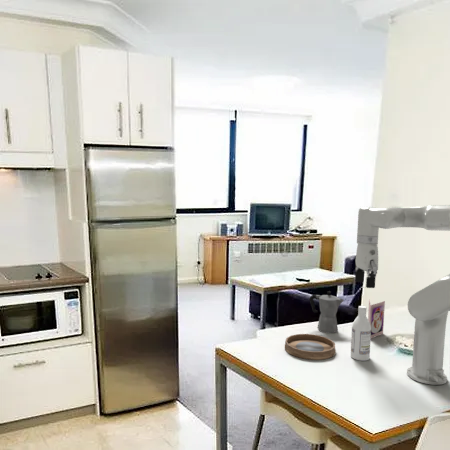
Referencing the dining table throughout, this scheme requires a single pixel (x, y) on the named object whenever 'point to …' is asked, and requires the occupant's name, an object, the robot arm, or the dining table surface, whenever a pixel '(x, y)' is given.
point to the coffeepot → (327, 312)
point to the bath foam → (361, 336)
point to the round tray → (310, 346)
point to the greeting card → (376, 318)
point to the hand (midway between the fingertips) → (364, 284)
